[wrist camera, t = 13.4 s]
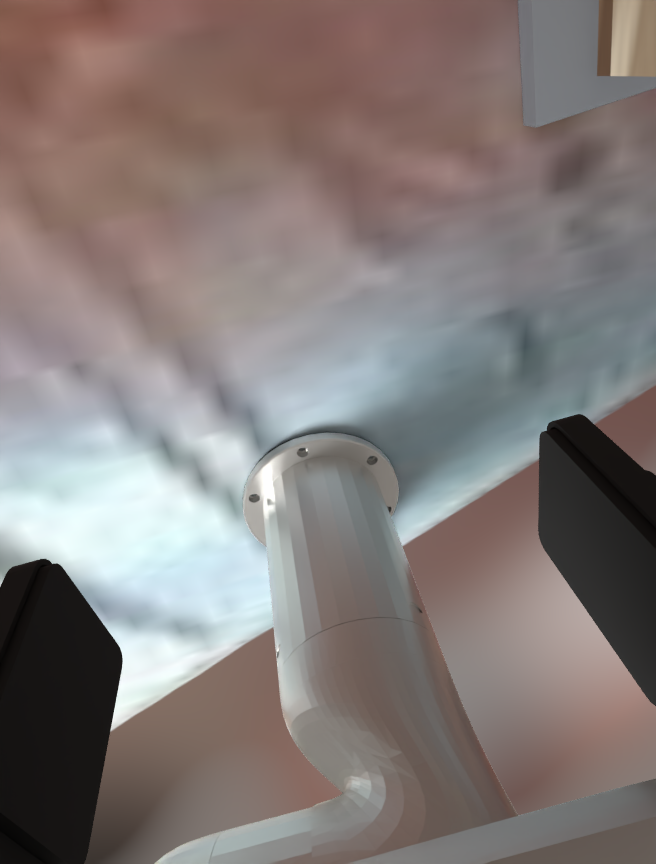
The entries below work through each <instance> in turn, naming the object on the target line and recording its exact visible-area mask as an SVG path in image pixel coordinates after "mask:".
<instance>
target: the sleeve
mask: <svg viewBox="0 0 656 864" xmlns="http://www.w3.org/2000/svg"><path fill="white" fill-rule="evenodd" d="M597 76H644V77H656V0H599V19H598V60H597Z"/></svg>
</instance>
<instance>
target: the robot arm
mask: <svg viewBox="0 0 656 864" xmlns="http://www.w3.org/2000/svg"><path fill="white" fill-rule="evenodd" d="M398 495H399V486H398V479H397V477H396V474H395V471H394V469H393V467H392V465H391V463H390V461H389V460H388V458H387V457H386V456H385V455H384V454H383V452H382V451H381V450H380V449H379V448H377V447H376V446H374V445H373V444H371V443H370V442H368V441H366V440H363V439H361V438H359V437H356V436H352V435H347V434H343V433H317V434H309V435H306V436H302V437H299V438H295V439H293V440H291V441H288V442H286V443H284V444H282V445H280V446H278V447H277V448H275V449H274V450H272V451H271V452H269V453H268V454H267V455H266V456H265V457H264V458H263V459H262V460H261V461H260V462H259V463H258V464H257V465H256V466H255V468H254V469H253V470H252V472H251V473H250V475H249V477H248V479H247V482H246V484H245V487H244V493H243V513H244V518H245V522H246V524H247V526H248V528H249V530H250V532H251V533H252V534H253V536H254V537H255V538H256V539H257V540H258V541H259V542H260V543H262V544H263V545H264V546H266V548H267V559H268V570H269V581H270V592H271V603H272V614H273V625H274V636H275V646H276V657H277V668H278V679H279V689H280V700H281V707H282V711H283V716H284V719H285V722H286V725H287V728H288V730H289V732H290V734H291V736H292V738H293V740H294V742H295V743H296V745H297V746H298V748H299V749H300V750H301V751H302V753H303V754H304V756H305V757H306V758H307V759H308V760H309V761H310V762H311V763H312V764H313V765H314V767H315V768H316V769H318V771H319V772H321V773H322V774H323V775H324V776H325V777H326V778H327V779H328V780H329V781H330V782H331V783H332V784H334V785H335V786H336V787H337V788H338V789H339V790H340V791H341V792H342V793H343V794H341V795H340V796H338V797H336V798H334V799H331V800H328V801H325V802H322V803H319V804H315V805H314V807H311V808H307V809H304V810H300V811H296V812H293V813H289V814H285V815H282V816H277V817H274V818H270V819H266V820H262V821H258V822H255V823H251V824H247V825H243V826H240V827H236V828H232V829H228V830H225V831H221V832H218V833H215V834H211V835H208V836H205V837H202V838H199V839H196V840H193V841H190V842H188V843H185V844H183V845H181V846H179V847H177V848H175V849H174V850H172V851H170V852H169V853H167V854H165V855H164V856H163V857H162V858H161V859H159V860H158V861H157V862H156V863H155V864H656V779H653V780H649V781H645V782H641V783H637V784H633V785H629V786H625V787H621V788H617V789H613V790H610V791H606V792H603V793H599V794H595V795H592V796H588V797H584V798H581V799H577V800H574V801H570V802H566V803H563V804H559V805H556V806H552V807H549V808H545V809H541V810H538V811H534V812H530V813H527V814H523V815H520V816H518V814H517V813H516V811H515V809H514V807H513V805H512V804H511V802H510V800H509V798H508V796H507V795H506V793H505V791H504V789H503V787H502V785H501V783H500V782H499V780H498V778H497V776H496V774H495V772H494V770H493V769H492V767H491V764H490V763H489V760H488V758H487V756H486V754H485V752H484V750H483V748H482V746H481V744H480V742H479V740H478V738H477V736H476V734H475V731H474V729H473V727H472V725H471V723H470V720H469V718H468V716H467V714H466V711H465V709H464V707H463V704H462V702H461V699H460V697H459V694H458V692H457V689H456V687H455V684H454V682H453V679H452V677H451V674H450V672H449V669H448V667H447V664H446V661H445V659H444V656H443V653H442V651H441V648H440V645H439V643H438V640H437V638H436V635H435V632H434V630H433V627H432V624H431V622H430V619H429V617H428V614H427V611H426V608H425V606H424V603H423V600H422V598H421V595H420V592H419V590H418V587H417V585H416V582H415V579H414V577H413V574H412V571H411V569H410V566H409V564H408V561H407V558H406V555H405V553H404V550H403V547H402V545H401V542H400V540H399V537H398V534H397V532H396V529H395V526H394V524H393V521H392V518H391V517H392V515H393V513H394V511H395V508H396V505H397V503H398ZM538 531H539V537H540V541H541V543H542V545H543V548H544V549H545V551H546V552H547V554H548V555H549V557H550V558H551V560H552V561H553V562H554V564H555V565H556V567H557V568H558V570H559V571H560V573H561V574H562V575H563V577H564V578H565V580H566V581H567V583H568V584H569V586H570V587H571V589H572V590H573V591H574V593H575V594H576V596H577V597H578V599H579V600H580V601H581V603H582V604H583V606H584V607H585V609H586V610H587V612H588V613H589V615H590V616H591V617H592V619H593V620H594V622H595V623H596V625H597V626H598V628H599V629H600V630H601V632H602V633H603V635H604V636H605V638H606V639H607V640H608V642H609V643H610V645H611V646H612V648H613V649H614V651H615V652H616V653H617V655H618V656H619V658H620V659H621V661H622V662H623V664H624V665H625V666H626V668H627V669H628V671H629V672H630V674H631V675H632V677H633V678H634V679H635V681H636V682H637V684H638V685H639V687H640V688H641V689H642V691H643V692H644V694H645V695H646V697H647V698H648V699H649V700H650V702H651V703H653V704H654V705H655V706H656V475H654V474H653V473H652V472H650V471H646V470H644V469H643V468H642V467H641V466H639V465H638V464H637V463H636V462H635V461H634V460H633V459H632V458H631V457H630V456H628V455H627V454H626V453H625V452H624V451H623V450H622V449H621V448H619V446H617V445H616V444H615V443H614V442H613V441H612V440H611V439H610V438H609V437H607V436H606V435H605V434H604V433H603V432H602V431H601V430H600V429H598V427H596V426H595V425H594V424H593V423H592V422H591V421H590V420H589V419H588V418H586V417H585V416H583V415H580V414H578V415H574V416H570V417H567V418H563V419H559V420H556V421H552V422H550V423H549V424H548V426H547V431H544V432H542V433H541V434H540V446H539V523H538ZM121 670H122V653H121V650H120V647H119V646H118V644H117V643H116V641H115V640H114V639H113V637H112V636H111V634H110V633H109V632H108V630H107V629H106V627H105V626H104V625H103V623H102V622H101V620H100V619H99V618H98V616H97V615H96V613H95V612H94V611H93V609H92V608H91V607H90V605H89V604H88V602H87V601H86V600H85V598H84V597H83V595H82V594H81V593H80V591H79V590H78V588H77V587H76V586H75V584H74V583H73V581H72V580H71V579H70V577H69V576H68V575H67V573H66V572H65V570H64V569H63V568H62V567H61V566H60V565H59V564H52V563H51V562H50V561H49V560H47V559H40V560H36V561H33V562H29V563H25V564H22V565H18V566H14V567H12V568H11V569H9V571H8V572H7V574H6V576H5V578H4V580H3V582H2V584H1V587H0V864H84V862H85V860H86V856H87V853H88V847H89V842H90V837H91V832H92V826H93V821H94V815H95V810H96V805H97V799H98V794H99V788H100V783H101V778H102V772H103V767H104V761H105V756H106V751H107V745H108V740H109V735H110V729H111V724H112V718H113V713H114V708H115V702H116V697H117V691H118V686H119V681H120V675H121Z"/></svg>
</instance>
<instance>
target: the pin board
mask: <svg viewBox="0 0 656 864" xmlns="http://www.w3.org/2000/svg"><path fill="white" fill-rule="evenodd" d="M518 15H519V36H520V58H521V79H522V100H523V122H524V125H525V126H531V127H539V126H542V125H545V124H548V123H551V122H554V121H557V120H560V119H563V118H566V117H569V116H572V115H575V114H578V113H582V112H585V111H588V110H591V109H594V108H597V107H600V106H603V105H606V104H609V103H612V102H615V101H618V100H621V99H624V98H627V97H630V96H633V95H636V94H639V93H642V92H645V91H648V90H651V89H654V88H656V77H644V76H597V60H598V19H599V0H518Z"/></svg>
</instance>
